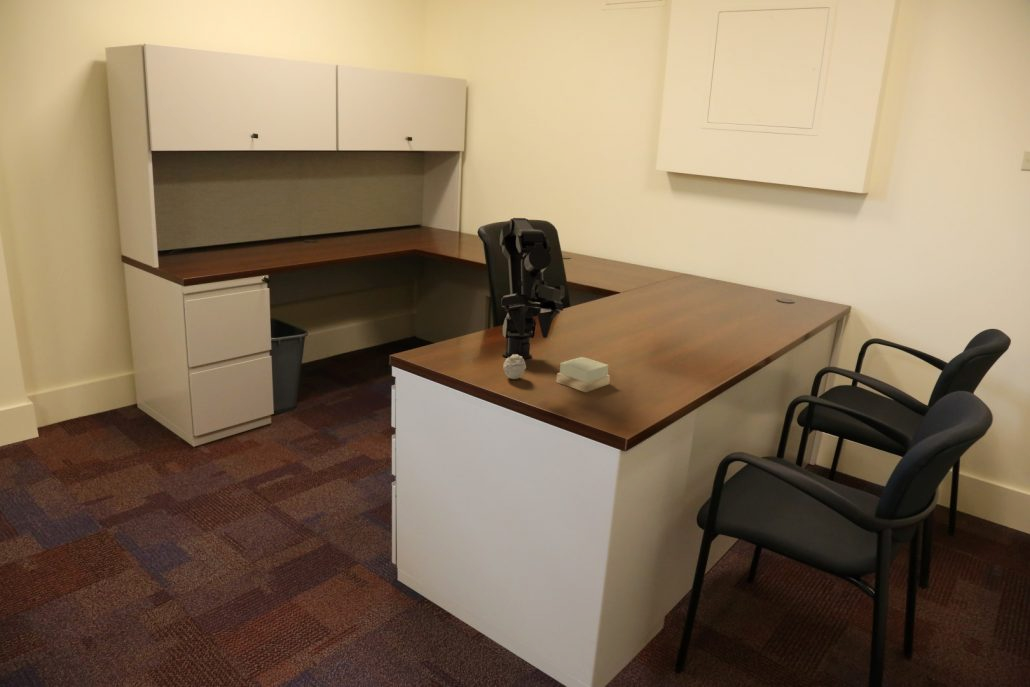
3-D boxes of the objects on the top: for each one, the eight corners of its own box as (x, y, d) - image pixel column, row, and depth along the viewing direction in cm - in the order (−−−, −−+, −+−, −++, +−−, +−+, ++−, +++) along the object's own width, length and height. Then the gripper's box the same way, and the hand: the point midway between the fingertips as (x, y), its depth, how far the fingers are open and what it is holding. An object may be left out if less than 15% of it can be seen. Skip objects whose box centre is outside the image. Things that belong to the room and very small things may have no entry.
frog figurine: (506, 384, 188) (507, 358, 186) (499, 375, 194) (500, 350, 192) (528, 382, 190) (529, 357, 188) (521, 374, 196) (522, 349, 194)
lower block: (556, 384, 191) (556, 373, 190) (579, 376, 198) (580, 366, 197) (585, 394, 185) (586, 383, 184) (609, 386, 192) (610, 375, 191)
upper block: (559, 373, 190) (560, 362, 189) (581, 367, 197) (582, 356, 196) (586, 382, 184) (587, 371, 183) (607, 375, 191) (608, 365, 190)
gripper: (532, 267, 176) (534, 330, 175) (578, 277, 190) (580, 336, 189) (499, 274, 184) (500, 335, 182) (545, 283, 198) (547, 340, 196)
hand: (533, 336), depth 187 cm, fingers open, 9 cm apart
